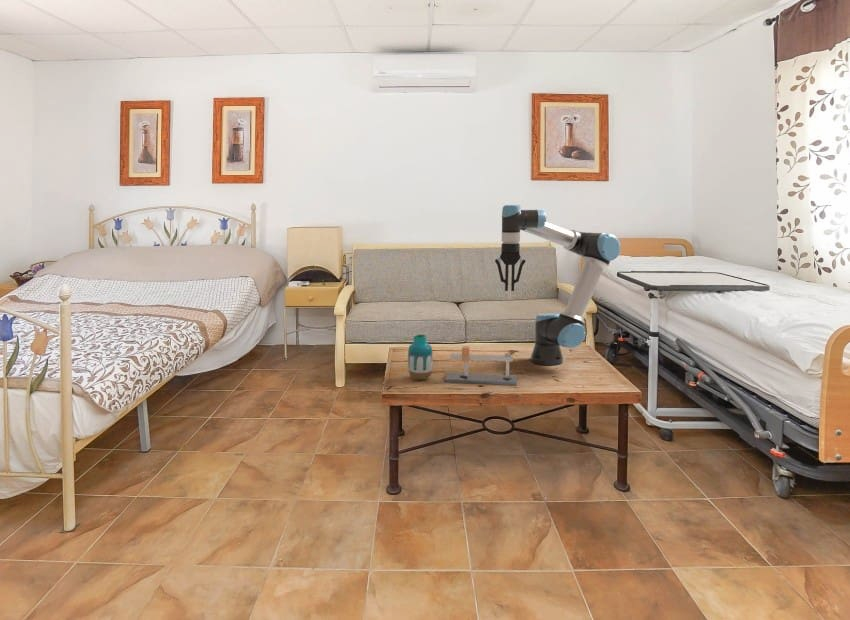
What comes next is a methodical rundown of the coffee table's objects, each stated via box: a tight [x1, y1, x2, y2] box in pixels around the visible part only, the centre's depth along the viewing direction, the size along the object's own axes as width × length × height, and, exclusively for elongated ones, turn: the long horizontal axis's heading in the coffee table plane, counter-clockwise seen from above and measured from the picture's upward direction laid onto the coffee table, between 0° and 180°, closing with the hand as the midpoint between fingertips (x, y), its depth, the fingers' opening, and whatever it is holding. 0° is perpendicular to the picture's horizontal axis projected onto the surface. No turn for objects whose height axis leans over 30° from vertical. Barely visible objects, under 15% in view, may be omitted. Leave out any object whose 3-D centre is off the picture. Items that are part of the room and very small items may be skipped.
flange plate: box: [444, 371, 518, 386], centre depth 225 cm, size 30×10×1 cm, turn 80°
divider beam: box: [450, 352, 514, 379], centre depth 224 cm, size 26×3×11 cm, turn 80°
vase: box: [407, 333, 434, 381], centre depth 226 cm, size 11×11×19 cm
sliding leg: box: [461, 345, 471, 376], centre depth 225 cm, size 3×4×12 cm
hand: (509, 298), depth 224 cm, fingers closed
